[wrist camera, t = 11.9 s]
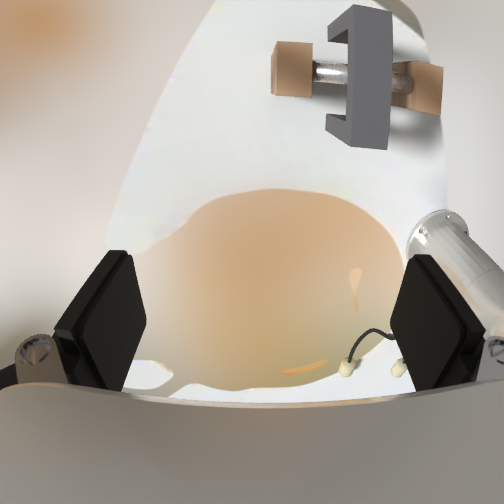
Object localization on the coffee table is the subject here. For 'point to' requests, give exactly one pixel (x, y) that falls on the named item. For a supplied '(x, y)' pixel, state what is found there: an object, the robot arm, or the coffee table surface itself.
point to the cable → (349, 362)
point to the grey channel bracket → (365, 77)
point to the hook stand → (305, 71)
